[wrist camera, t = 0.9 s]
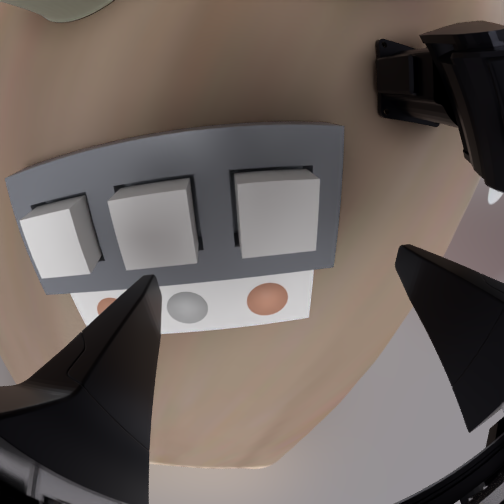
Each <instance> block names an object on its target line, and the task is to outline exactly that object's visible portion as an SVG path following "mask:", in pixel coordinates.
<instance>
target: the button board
mask: <svg viewBox="0 0 504 504" xmlns="http://www.w3.org/2000/svg"><path fill="white" fill-rule="evenodd" d="M343 153H344V126H342V125H337V124H332V123H327V122H253V123H236V124H223V125H212V126H202V127H194V128H186V129H178V130H172V131H165V132H159V133H153V134H147V135H142V136H137V137H132V138H127V139H122V140H118V141H113V142H109V143H105V144H101V145H97V146H93V147H89V148H85V149H82V150H78V151H75V152H71V153H68V154H64V155H61V156H58V157H55V158H52V159H49V160H46V161H43V162H40V163H37V164H34V165H32V166H29V167H26V168H24V169H22V170H20V171H18V172H16V173H14V174H13V175H11V176H9V177H7V178H5V181H6V185H7V189H8V193H9V197H10V201H11V204H12V208H13V211H14V215H15V218H16V221H17V224H18V227H19V230H20V233H21V236H22V239H23V242H24V244H25V247H26V250H27V252H28V255H29V257H30V260H31V262H32V264H33V267H34V269H35V271H36V274H37V276H38V278H39V280H40V283H41V285H42V287H43V289H44V291H45V293H46V295H49V294H66V293H82V292H96V291H110V290H123V289H128V288H129V287H131V286H132V285H133V284H134V283H135V282H136V281H137V280H138V279H140V278H141V277H142V276H143V275H150V274H154V275H155V276H156V278H157V281H158V284H159V286H170V285H181V284H191V283H201V282H211V281H221V280H230V279H240V278H249V277H258V276H266V275H275V274H283V273H292V272H300V271H308V270H315V269H323V268H331V267H334V260H335V252H336V243H337V234H338V225H339V214H340V203H341V190H342V174H343ZM288 169H307V170H309V171H310V172H311V173H313V174H314V175H315V176H317V177H318V178H319V179H320V192H319V212H318V228H317V242H316V251H308V252H299V253H290V254H280V255H271V256H262V257H252V258H243V259H242V254H241V249H240V244H239V237H238V224H237V210H236V196H235V182H234V173H241V172H254V171H269V170H288ZM183 178H190V184H191V192H192V199H193V207H194V214H195V221H196V228H197V235H198V242H199V247H198V260H197V263H195V264H186V265H176V266H166V267H156V268H146V269H136V270H126V268H125V264H124V261H123V258H122V255H121V251H120V248H119V244H118V241H117V237H116V234H115V230H114V226H113V222H112V218H111V214H110V210H109V206H108V202H107V201H108V200H109V199H110V198H111V197H112V196H113V195H114V194H115V193H116V192H117V191H118V190H119V189H120V188H124V187H129V186H135V185H141V184H148V183H154V182H161V181H168V180H175V179H183ZM83 195H85V196H86V200H87V204H88V208H89V212H90V215H91V219H92V223H93V226H94V230H95V233H96V237H97V240H98V243H99V246H100V250H101V253H102V256H101V257H100V259H99V261H98V262H97V264H96V266H95V267H94V269H93V271H92V272H91V274H85V275H75V276H64V277H54V278H43V279H42V278H41V276H40V274H39V271H38V269H37V267H36V264H35V262H34V260H33V257H32V255H31V252H30V249H29V247H28V244H27V241H26V239H25V236H24V233H23V230H22V227H21V224H20V220H21V219H22V218H23V217H25V216H26V215H27V214H28V213H30V212H31V211H32V210H33V209H35V208H36V207H37V206H41V205H45V204H49V203H53V202H57V201H61V200H65V199H70V198H74V197H78V196H83Z"/></svg>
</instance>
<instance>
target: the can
mask: <svg viewBox="0 0 504 504" xmlns="http://www.w3.org/2000/svg"><path fill="white" fill-rule="evenodd" d="M112 1H114V0H0V2H4V3H7V4H11V5H14V6H17V7H20V8H24V9H27V10H29V11H32V12H35V13H37V14H39V15H42V16H43V17H44V18H46V19H47V20H49V21H53V22H70V21H74V20H78V19H81V18H83V17H86V16H88V15H91V14H92V13H95V12H96V11H98V10H100V9H102V8H103V7H105V6H106V5H108V4H109V3H111V2H112Z"/></svg>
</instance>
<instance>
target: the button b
mask: <svg viewBox="0 0 504 504" xmlns="http://www.w3.org/2000/svg"><path fill="white" fill-rule="evenodd" d="M234 182H235V196H236V210H237V224H238V237H239V244H240V249H241V254H242V259H243V258H252V257H262V256H271V255H280V254H290V253H299V252H308V251H316V242H317V228H318V212H319V192H320V179H319V178H318V177H317V176H315V175H314V174H313V173H311V172H310V171H309V170H307V169H288V170H269V171H254V172H241V173H234Z"/></svg>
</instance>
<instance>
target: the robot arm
mask: <svg viewBox="0 0 504 504" xmlns="http://www.w3.org/2000/svg"><path fill="white" fill-rule="evenodd" d="M419 36H420V38H421V40H422V41H423V43H425V44H426V46H427V48H421V49H414V48H411V47H408V46H405V45H402V44H399V43H396V42H393V41H389V40H386V39H380V40H377V42H376V49H377V60H376V65H377V90H378V113H379V115H380V116H381V117H383V118H389V119H396V120H402V121H408V122H414V123H419V124H424V125H429V126H434V127H438V126H439V124H440V123H441V124H445V125H449V126H453V127H457V128H458V129H459V132H460V136H461V139H462V143H463V147H464V150H463V153H464V157H465V159H466V160H468V161H469V162H470V163H471V164H472V166H473V168H474V170H475V171H476V172H477V173H478V174H479V175H480V176H481V177H482V178H483V179H484V181H485V184H486V185H487V186H489V187H491V188H493V189H495V190H497V191H499V192H502V193H504V26H503V25H499V24H495V23H491V22H486V21H472V22H463V23H456V24H453V25H449V26H446V27H443V28H439V29H436V30H433V31H430V32H427V33H424V34H421V35H419ZM382 43H383V44H384V47H383V46H382ZM384 109H385V110H386V114H384ZM434 122H435V123H434ZM395 268H396V271H397V273H398V275H399V277H400V279H401V282H402V284H403V286H404V288H405V290H406V293H407V295H408V297H409V299H410V301H411V303H412V305H413V307H414V308H415V310H416V312H417V314H418V316H419V318H420V320H421V322H422V323H423V325H424V327H425V329H426V331H427V333H428V335H429V337H430V339H431V341H432V343H433V345H434V347H435V350H436V352H437V354H438V356H439V358H440V360H441V363H442V365H443V367H444V369H445V372H446V374H447V376H448V378H449V381H450V383H451V386H453V387H452V389H453V391H454V394H455V396H456V399H457V401H458V404H459V406H460V409H461V412H462V415H463V418H464V421H465V424H466V427H467V429H468V432H469V433H470V432H471V431H473V430H474V429H476V428H477V427H478V426H480V425H481V424H482V423H484V422H485V421H486V420H487V419H489V418H490V417H492V416H493V415H494V414H495V413H497V412H498V411H499V410H500V409H502V410H503V412H504V283H502V282H499V281H497V280H495V279H492V278H490V277H488V276H486V275H483V274H480V273H479V272H476V271H474V270H472V269H470V268H467V267H465V266H462V265H460V264H458V263H455V262H453V261H451V260H448V259H446V258H443V257H441V256H438V255H436V254H433V253H431V252H428V251H426V250H423V249H421V248H418V247H415V246H413V245H410V244H406V245H401V246H400V247H399V249H398V254H397V258H396V262H395ZM161 313H162V294H161V291H160V288H159V284H158V281H157V278H156V276H155V275H154V274H150V275H143V276H142V277H141V278H140V279H138V280H137V281H136V282H135V283H134V284H133V285H132V286H131V287H129V288H128V289H127V290H126V291H125V292H124V293H123V294H122V295H120V296H119V297H118V298H117V299H116V300H115V301H114V302H113V303H112V304H110V305H109V306H108V307H107V308H106V309H105V310H104V311H103V312H102V313H101V314H100V315H99V316H97V317H96V318H95V319H94V320H93V321H92V322H91V323H90V324H89V325H88V326H87V327H86V328H85V329H84V330H83V331H82V332H81V333H79V334H78V335H77V336H76V337H75V338H74V339H73V340H72V341H71V342H70V343H69V344H68V345H67V346H66V347H65V348H64V349H62V350H61V351H60V352H59V353H58V354H57V355H55V356H54V357H53V358H52V359H51V360H50V361H48V362H47V363H46V364H45V365H44V366H43V367H41V368H40V369H39V370H38V371H37V372H36V373H35V374H33V375H32V376H31V377H30V378H29V379H27V380H26V381H24V382H22V383H20V384H17V385H13V386H2V387H0V504H149V496H148V495H149V493H148V492H149V486H148V485H149V449H150V432H151V418H152V406H153V396H154V386H155V377H156V369H157V361H158V353H159V346H160V338H161ZM458 500H460V502H461V504H504V417H503V418H502V419H500V420H499V421H498V422H497V423H496V424H495V425H494V426H492V427H491V428H490V430H489V435H488V439H487V444H486V448H485V449H484V450H482V451H481V452H480V453H478V454H477V455H476V456H474V457H473V458H472V459H470V460H469V461H468V462H466V463H465V464H463V465H462V466H460V467H459V468H457V469H456V470H455V471H453V472H452V473H450V474H448V475H447V476H445V477H444V478H442V479H440V480H439V481H437V482H435V483H433V484H432V485H430V486H428V487H426V488H425V489H423V490H421V491H419V492H417V493H415V494H413V495H411V496H409V497H407V498H405V499H403V500H401V501H399V502H397V503H395V504H454V503H455V502H457V501H458Z"/></svg>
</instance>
